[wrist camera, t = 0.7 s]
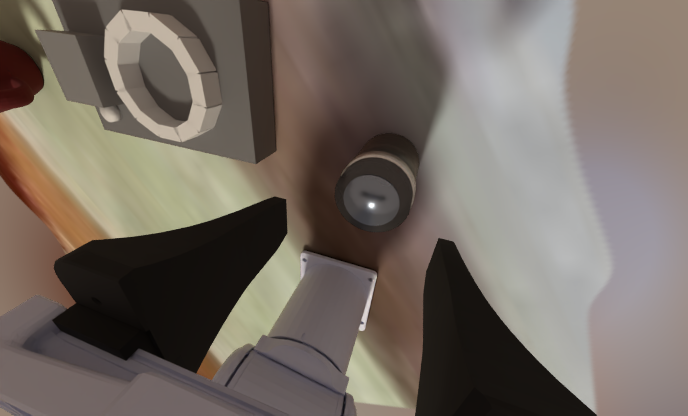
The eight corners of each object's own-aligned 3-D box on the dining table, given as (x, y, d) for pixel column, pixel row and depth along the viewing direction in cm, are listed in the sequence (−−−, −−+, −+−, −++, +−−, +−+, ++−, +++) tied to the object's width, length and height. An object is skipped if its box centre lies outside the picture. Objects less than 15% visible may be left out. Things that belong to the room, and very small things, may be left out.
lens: (412, 195, 21) (402, 244, 16) (356, 182, 22) (329, 224, 17) (427, 138, 18) (422, 173, 13) (363, 126, 19) (334, 155, 14)
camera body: (276, 151, 22) (239, 174, 18) (136, 121, 26) (79, 135, 21) (268, 2, 17) (212, -12, 13) (92, -12, 20) (3, -27, 16)
